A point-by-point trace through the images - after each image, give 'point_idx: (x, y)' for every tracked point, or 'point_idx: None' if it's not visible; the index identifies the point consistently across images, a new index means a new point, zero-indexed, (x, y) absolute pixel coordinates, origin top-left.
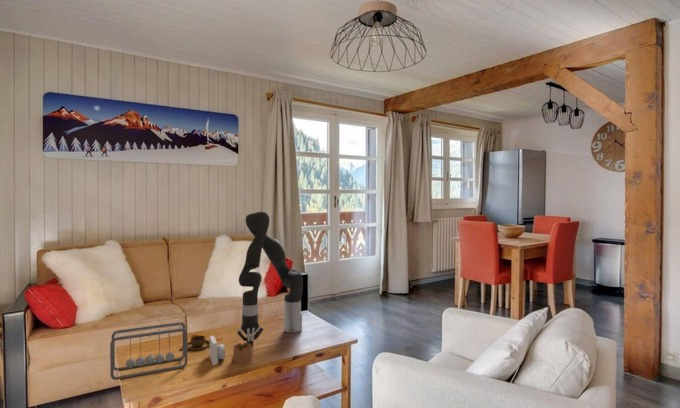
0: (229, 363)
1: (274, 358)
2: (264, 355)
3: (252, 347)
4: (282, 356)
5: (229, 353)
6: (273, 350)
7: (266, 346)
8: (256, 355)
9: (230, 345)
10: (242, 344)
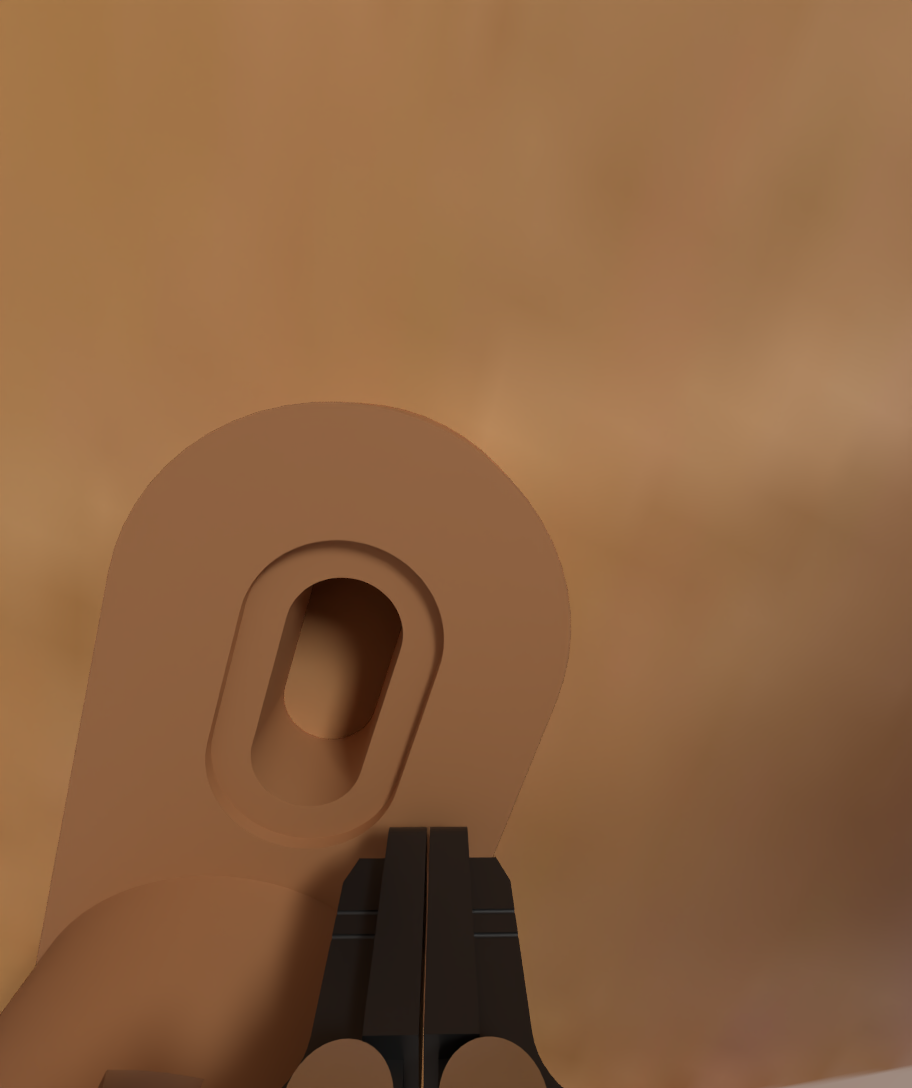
0: (27, 958)
1: (760, 1036)
2: (662, 889)
3: (514, 764)
4: (903, 1018)
5: (31, 550)
6: (900, 757)
7: (879, 508)
8: (533, 841)
9: (65, 11)
10: (157, 1077)
